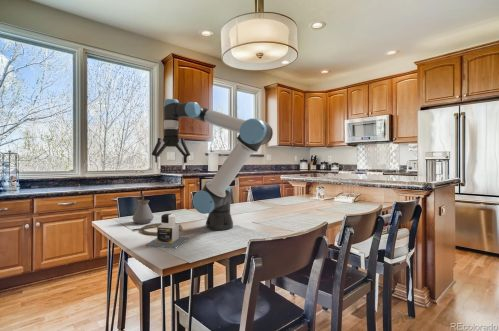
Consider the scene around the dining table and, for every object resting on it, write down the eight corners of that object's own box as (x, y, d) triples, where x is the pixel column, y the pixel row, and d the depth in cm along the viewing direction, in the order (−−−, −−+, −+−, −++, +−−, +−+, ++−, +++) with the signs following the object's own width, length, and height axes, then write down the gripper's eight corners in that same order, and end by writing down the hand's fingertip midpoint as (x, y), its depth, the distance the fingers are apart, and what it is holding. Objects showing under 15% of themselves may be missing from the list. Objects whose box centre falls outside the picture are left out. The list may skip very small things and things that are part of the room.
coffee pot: (154, 224, 159) (154, 197, 158) (132, 225, 154) (132, 198, 154) (152, 216, 178) (152, 192, 178) (133, 217, 174) (133, 193, 174)
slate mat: (188, 238, 132) (188, 237, 132) (176, 247, 118) (176, 246, 118) (160, 236, 134) (160, 235, 134) (145, 245, 120) (145, 244, 120)
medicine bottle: (156, 242, 123) (157, 215, 123) (164, 237, 130) (164, 212, 130) (172, 243, 122) (172, 216, 122) (178, 238, 129) (179, 213, 129)
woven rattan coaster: (187, 225, 155) (187, 223, 155) (172, 236, 135) (172, 233, 135) (153, 224, 158) (153, 222, 158) (132, 233, 138) (132, 231, 138)
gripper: (196, 129, 151) (195, 169, 151) (151, 129, 152) (151, 168, 153) (192, 128, 143) (192, 169, 144) (145, 128, 145) (145, 169, 146)
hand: (171, 169), depth 148 cm, fingers open, 13 cm apart
